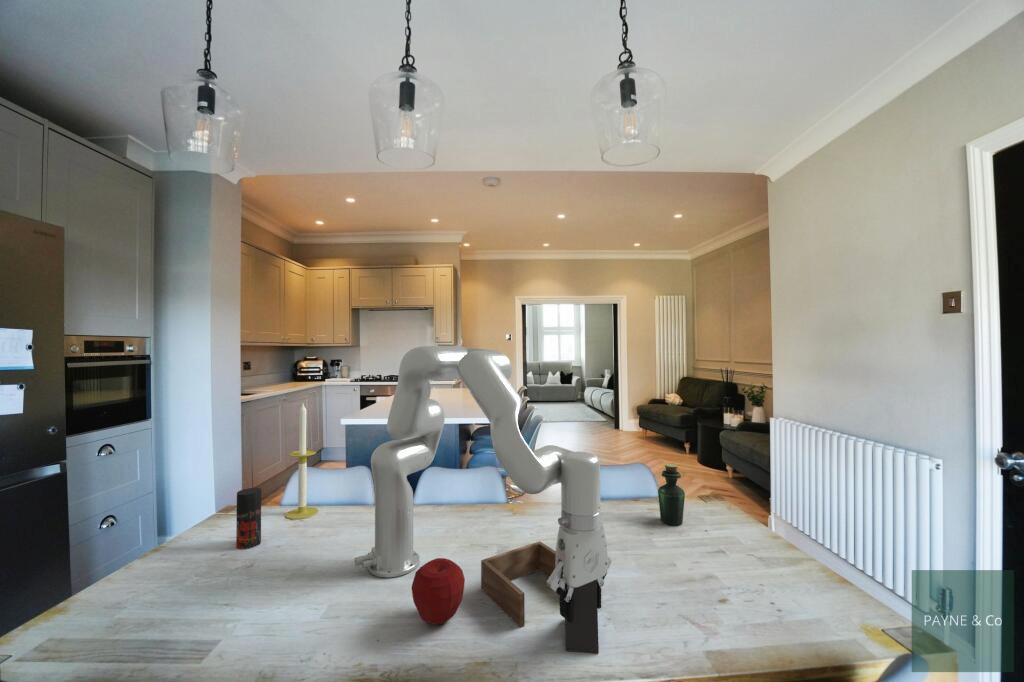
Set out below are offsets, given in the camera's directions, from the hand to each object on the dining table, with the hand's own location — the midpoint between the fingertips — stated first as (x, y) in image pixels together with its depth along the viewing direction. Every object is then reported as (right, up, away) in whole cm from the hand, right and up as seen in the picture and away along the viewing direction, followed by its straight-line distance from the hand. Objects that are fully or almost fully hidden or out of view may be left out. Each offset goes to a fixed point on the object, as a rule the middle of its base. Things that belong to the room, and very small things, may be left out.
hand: (580, 610), depth 80 cm
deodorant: (-88, -6, +38) cm, 96 cm away
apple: (-28, -5, +5) cm, 29 cm away
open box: (-9, -5, +13) cm, 17 cm away
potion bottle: (+38, -6, +52) cm, 64 cm away
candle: (-84, -6, +59) cm, 103 cm away
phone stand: (0, -5, 0) cm, 5 cm away
